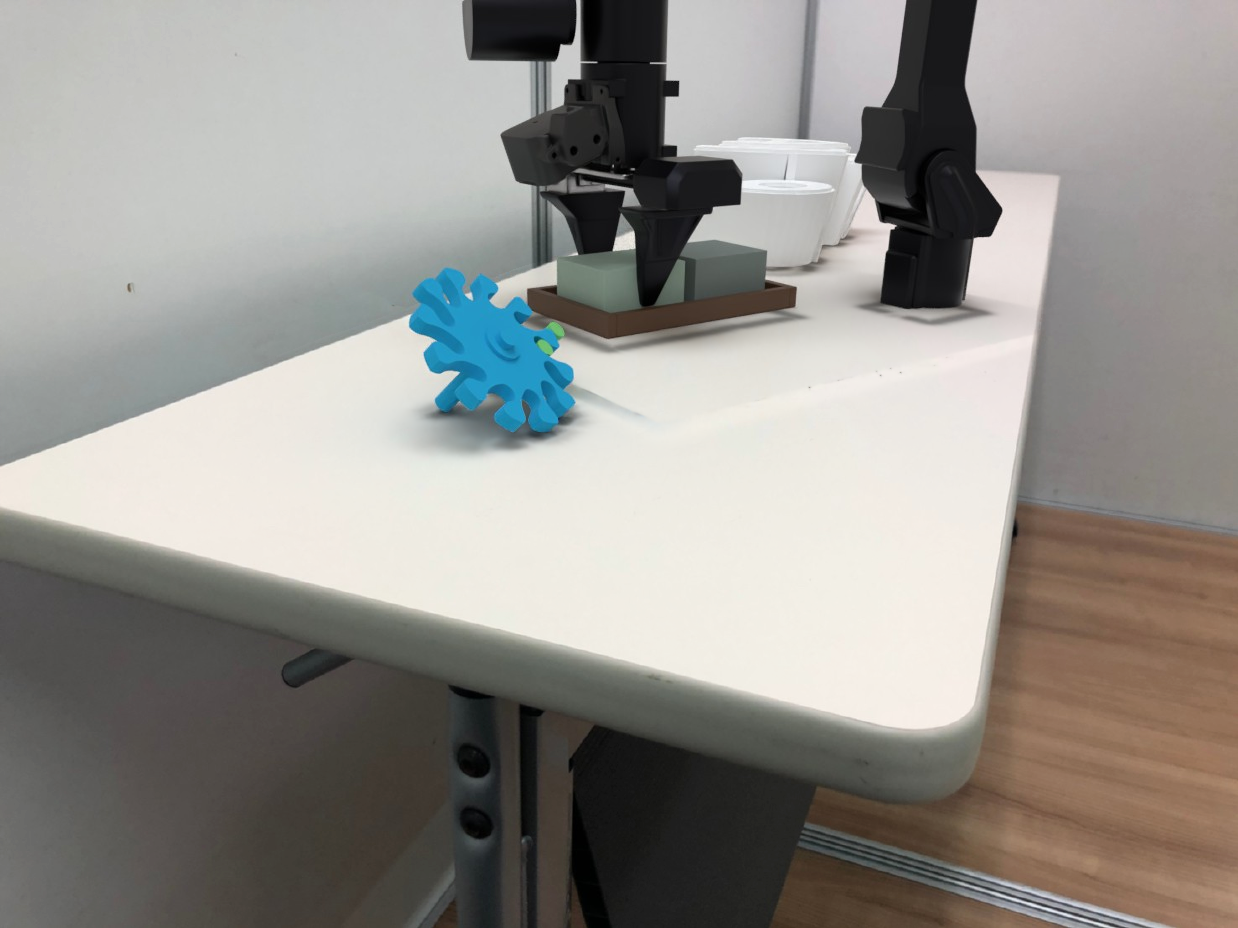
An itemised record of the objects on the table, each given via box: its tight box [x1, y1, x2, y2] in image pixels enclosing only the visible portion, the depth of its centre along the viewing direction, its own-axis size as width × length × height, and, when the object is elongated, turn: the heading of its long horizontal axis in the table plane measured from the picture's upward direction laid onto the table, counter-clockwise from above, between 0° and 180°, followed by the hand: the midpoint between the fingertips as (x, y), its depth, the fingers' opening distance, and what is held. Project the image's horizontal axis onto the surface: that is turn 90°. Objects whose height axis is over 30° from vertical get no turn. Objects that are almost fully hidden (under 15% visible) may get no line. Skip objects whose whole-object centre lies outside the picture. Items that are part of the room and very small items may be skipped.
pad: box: [678, 240, 767, 302], centre depth 74 cm, size 7×6×4 cm
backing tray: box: [526, 278, 798, 340], centre depth 72 cm, size 17×10×2 cm, turn 126°
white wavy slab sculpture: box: [687, 136, 868, 268], centre depth 100 cm, size 35×16×11 cm, turn 155°
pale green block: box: [556, 248, 685, 313], centre depth 69 cm, size 7×6×4 cm
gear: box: [408, 267, 577, 433], centre depth 51 cm, size 11×6×10 cm
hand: (620, 297), depth 70 cm, fingers closed on pale green block, 6 cm apart
